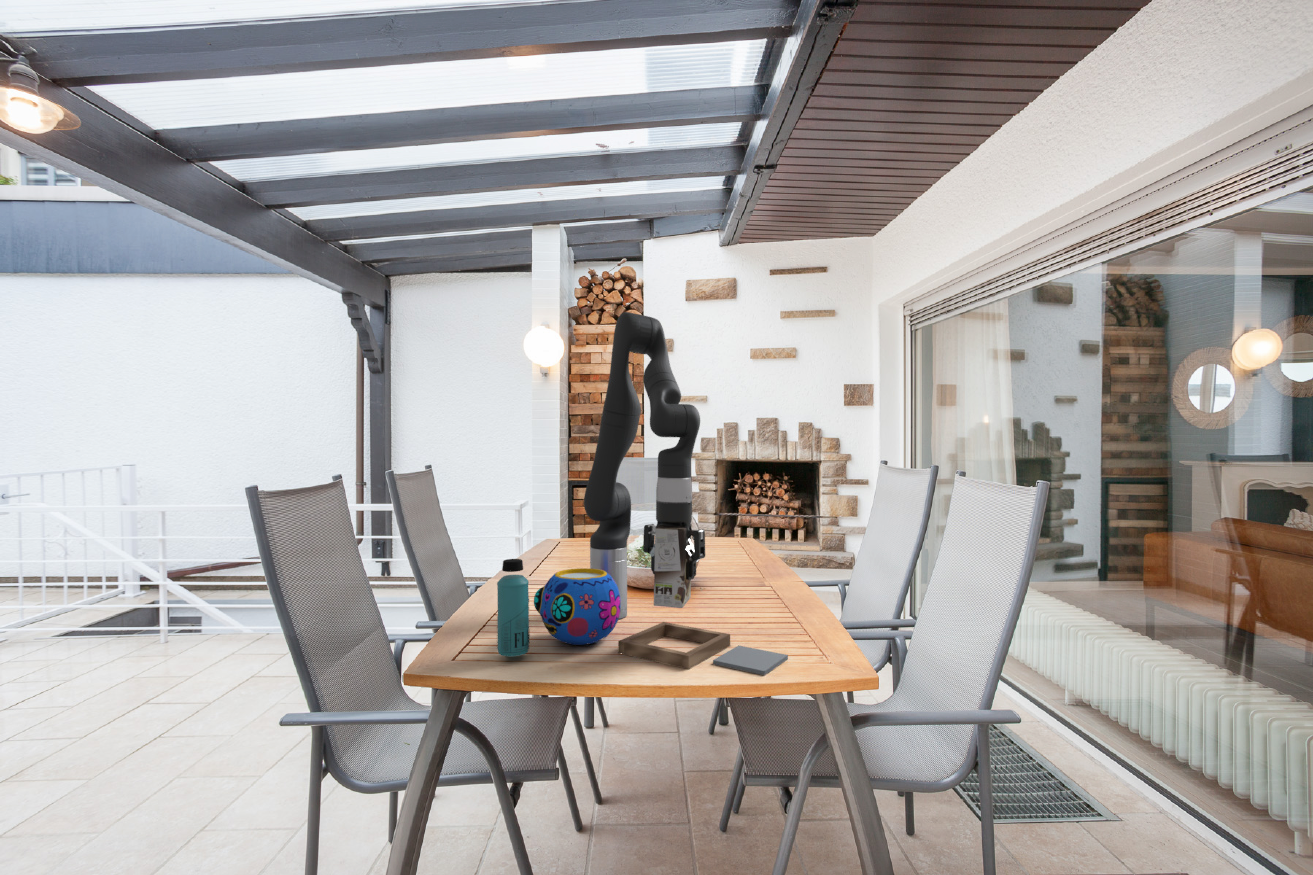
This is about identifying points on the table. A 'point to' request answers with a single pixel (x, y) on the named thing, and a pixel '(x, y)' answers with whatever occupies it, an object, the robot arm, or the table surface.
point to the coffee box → (671, 567)
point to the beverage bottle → (513, 611)
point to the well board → (641, 649)
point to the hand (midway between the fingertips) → (673, 576)
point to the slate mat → (750, 660)
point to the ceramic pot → (579, 605)
